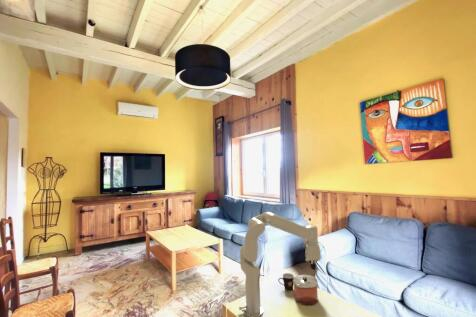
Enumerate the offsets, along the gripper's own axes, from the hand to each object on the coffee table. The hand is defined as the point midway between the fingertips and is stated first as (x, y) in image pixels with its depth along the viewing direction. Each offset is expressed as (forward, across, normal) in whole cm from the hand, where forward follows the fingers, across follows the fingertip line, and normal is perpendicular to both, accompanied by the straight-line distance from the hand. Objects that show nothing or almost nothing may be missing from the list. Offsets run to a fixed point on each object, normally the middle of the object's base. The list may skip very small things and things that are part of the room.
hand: (313, 268), depth 172 cm
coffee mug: (+21, -14, +17) cm, 31 cm away
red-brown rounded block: (+21, -6, 0) cm, 22 cm away
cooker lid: (+9, -6, 0) cm, 11 cm away
